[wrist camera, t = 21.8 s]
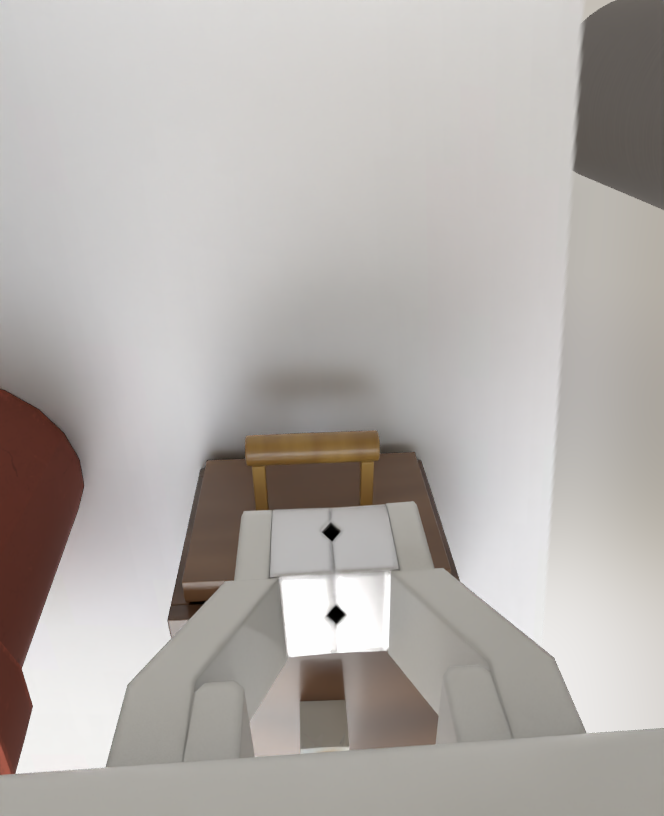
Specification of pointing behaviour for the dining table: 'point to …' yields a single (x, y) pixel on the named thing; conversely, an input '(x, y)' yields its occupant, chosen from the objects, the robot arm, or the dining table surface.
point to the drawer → (297, 494)
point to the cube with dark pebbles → (323, 726)
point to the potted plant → (28, 547)
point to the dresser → (332, 684)
